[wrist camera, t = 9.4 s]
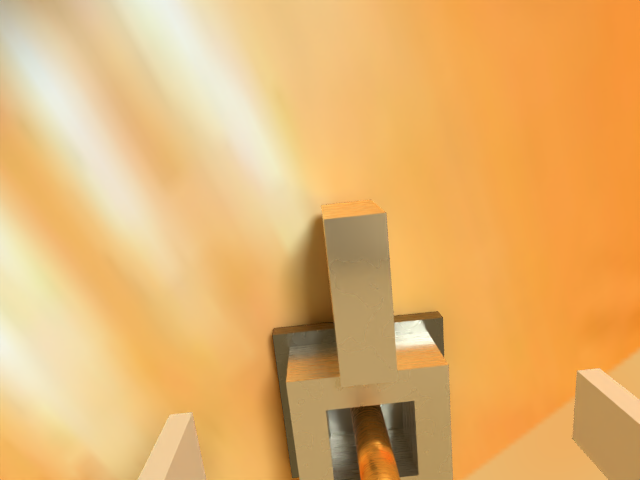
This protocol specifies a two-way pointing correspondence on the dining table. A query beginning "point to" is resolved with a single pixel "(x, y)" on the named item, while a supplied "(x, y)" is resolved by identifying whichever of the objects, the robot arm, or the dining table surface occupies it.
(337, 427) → the peg on square plate
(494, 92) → the dining table surface
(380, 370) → the square loop with stem
